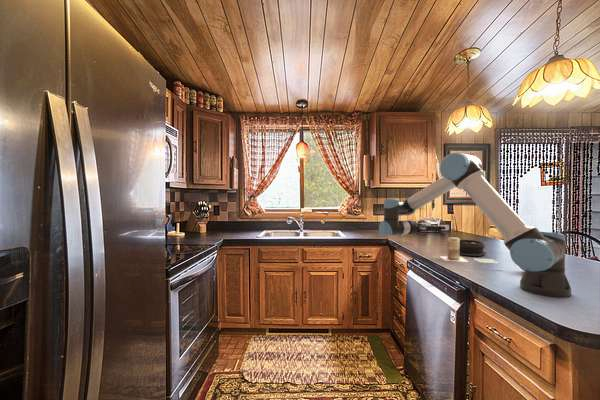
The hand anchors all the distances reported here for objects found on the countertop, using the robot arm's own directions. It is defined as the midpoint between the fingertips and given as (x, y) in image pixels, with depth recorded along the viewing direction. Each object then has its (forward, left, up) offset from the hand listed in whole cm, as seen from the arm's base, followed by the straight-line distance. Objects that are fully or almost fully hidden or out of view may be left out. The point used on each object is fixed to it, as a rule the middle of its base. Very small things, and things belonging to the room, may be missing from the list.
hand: (439, 226), depth 157 cm
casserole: (+25, -23, -20) cm, 39 cm away
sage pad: (+4, -25, -20) cm, 32 cm away
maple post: (+5, -9, -19) cm, 22 cm away
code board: (+5, -9, -20) cm, 22 cm away
